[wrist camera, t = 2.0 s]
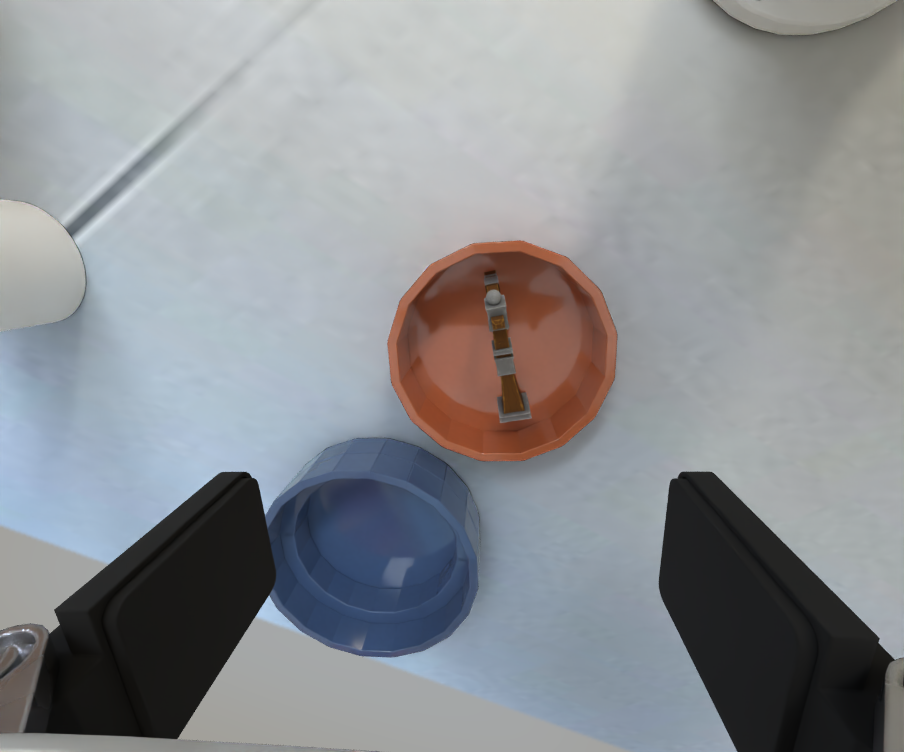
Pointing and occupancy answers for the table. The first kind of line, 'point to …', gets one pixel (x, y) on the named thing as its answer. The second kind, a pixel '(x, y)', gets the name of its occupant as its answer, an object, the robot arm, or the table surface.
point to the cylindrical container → (36, 268)
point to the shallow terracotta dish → (471, 355)
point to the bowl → (375, 548)
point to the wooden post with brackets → (503, 354)
